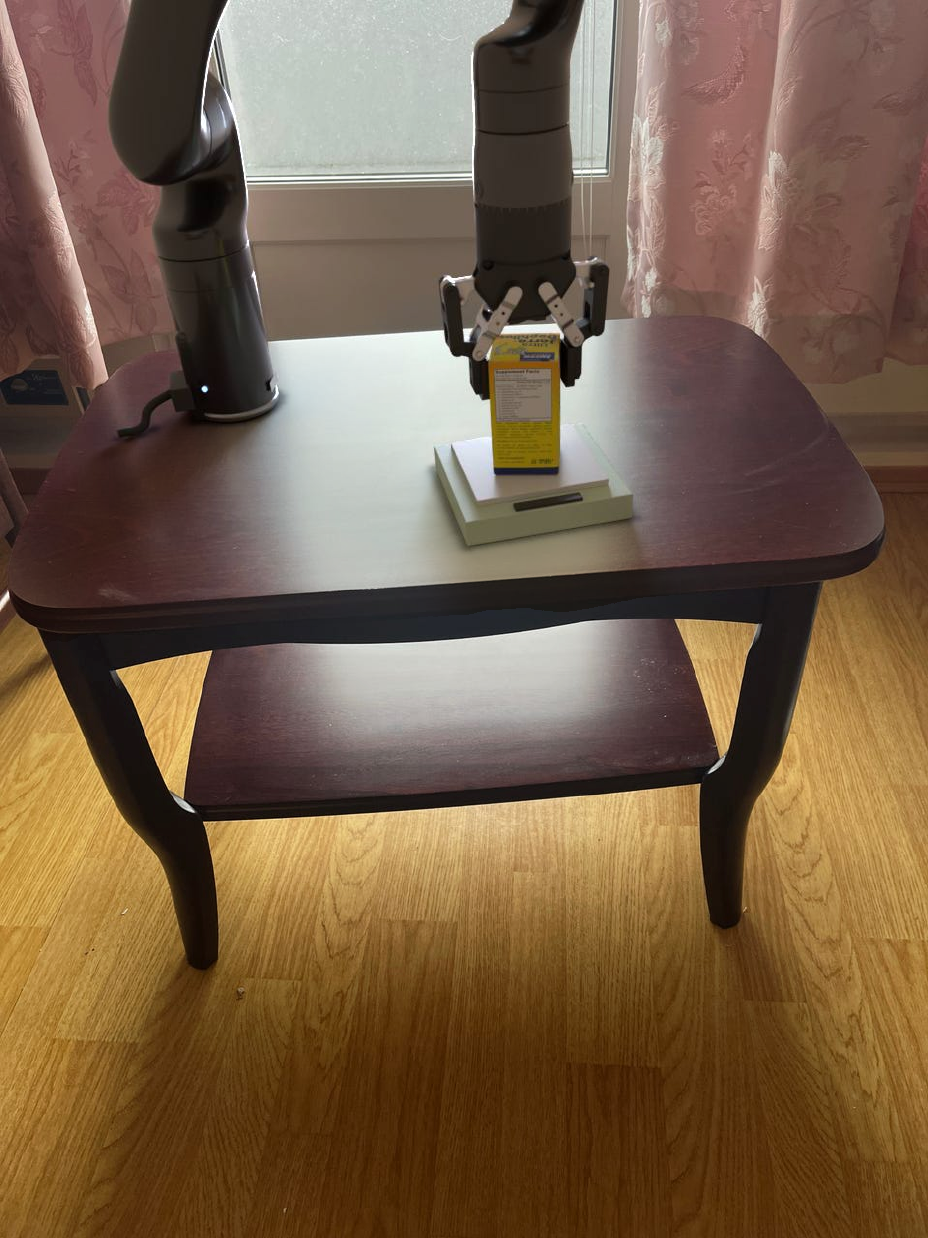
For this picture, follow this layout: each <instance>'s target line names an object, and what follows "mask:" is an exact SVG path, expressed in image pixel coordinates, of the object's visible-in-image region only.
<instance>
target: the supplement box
mask: <svg viewBox="0 0 928 1238" xmlns="http://www.w3.org/2000/svg"><path fill="white" fill-rule="evenodd" d="M560 339H561V333H560V332H540V333H539V332H529V333H528V332H527V333H526V332H525V333H524V332H523V333H521V332H520V333H501V334H500V336H499V337H498V338H497V339H495V340H494V342H493V344H492V346H491V348H490V354H489V357H488V359H489V363H488V367H489V389H490V399H489V409H490V410H489V411H490V431H491V436H492V452H493V468H494V474H558V473H559V458H560V425H561V378H560Z"/></svg>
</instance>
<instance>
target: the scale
mask: <svg viewBox="0 0 928 1238" xmlns="http://www.w3.org/2000/svg"><path fill="white" fill-rule="evenodd" d="M433 451H434V452H433V454H434V466H435V471H436V473H437V475H438V478H439V480H440V483H441V485H442V487H443V490H444V492H445V495H446V497H447V500H448V502H449V504H450V507H451V509H452V512H453V515H454V517H455V519H456V522H457V525H458V526H459V529H460V531H461V534H462V538H463V539H464V542H465V544H466V546H467V547H471V546H478V545H483V544H489V543H490V544H491V543H495V542H501V541H507V540H512V539H518V538H523V537H529V536H535V535H542V534H547V533H552V532H558V531H565V530H570V529H576V528H582V527H587V526H593V525H594V526H595V525H601V524H606V523H611V522H617V521H622V520H628V519H632V517H633V502H634V501H633V500H634V494H633V492H632V491H631V489H630V488H629V486H628V485H627V484H626V482H625V481H624V480H623V478H622V477H621V475H620V474H619V472H618V471H617V470H616V468H615V467H614V465H613V464H612V463H611V460H610V459H609V458H608V456H607V455H606V454H605V453H604V451H603V450H602V448H601V447H600V445H599V444H598V443H597V441H596V440H595V439H594V437H593V436H592V434H591V433H590V432H589V430H588V428H587V427H586V426H585V424H584V423H583V422H580V423H574V424H572V423H568V424H567V423H566V424H560V458H559V473H558V474H494V468H493V452H492V435H491V436H484V437H478V438H471V439H465V440H458V441H451V442H450V443H448V444H447V443H446V444H440V445H434V446H433Z"/></svg>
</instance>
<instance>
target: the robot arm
mask: <svg viewBox="0 0 928 1238" xmlns="http://www.w3.org/2000/svg"><path fill="white" fill-rule="evenodd" d="M230 1H231V0H130V3H129V9H128V15H127V20H126V23H125V28H124V32H123V37H122V40H121V45H120V48H119V49H120V50H119V54H118V58H117V61H116V66H115V69H114V74H113V79H112V83H111V87H110V91H109V97H108V102H107V103H108V104H107V113H106V114H107V128H108V129H107V130H108V135H109V139H110V142H111V145H112V148H113V151H114V152H115V154H116V156H117V158H118V160H119V161H120V163H121V164H122V165H123V167H124V169H125V170H127V172H128V173H129V174H130V175H132V177H134V178H135V179H136V180H138V181H140V182H141V183H144V184H145V185H150V186H154V187H160V196H159V200H158V201H159V202H158V205H157V208H156V212H155V213H154V216H153V218H152V221H151V223H150V224H151V225H150V234H151V238H152V239H151V240H152V243H153V247H154V252H155V255H156V258H157V259H156V260H157V263H158V267H159V272H160V275H161V278H162V282H163V286H164V290H165V294H166V298H167V302H168V306H169V310H170V314H171V319H172V322H173V326H174V341H175V346H176V349H177V352H178V357H179V361H180V365H181V368H182V370H175V371H170V372H169V373H170V374H169V388H168V389H167V390H165V391H163V392H162V393H160V394H158V395H156V396H155V397H153V398H152V399H151V400H149V401H148V402H147V403H146V404H145V406H144V407H143V409H142V413H141V419H140V422H139V423H138V424H137V425H133V426H127V427H120V428H116V434H117V436H118V438H119V439H121V438H126V437H134V436H138V435H141V434H143V433H144V432H145V431H147V430H148V429H149V427H150V425H151V418H152V413H153V412H154V411H155V409H157V408H158V407H159V406H160V405H162V404H164V403H167V401H170V400H171V402H172V405H173V408H174V412H175V413H181V412H187V411H192V412H193V417H194V420H195V422H199V421H200V422H201V421H210V422H215V423H216V422H217V423H234V422H240V421H246V420H249V419H253V418H256V417H259V416H261V415H263V414H265V413H267V412H269V411H271V410H272V409H273V408H274V407H275V406H276V405H277V404H278V403H279V400H280V395H279V390H278V387H277V384H278V382H279V379H278V374H277V371H275V372H274V368H273V361H272V357H271V352H270V347H269V342H268V341H269V340H268V336H267V331H266V327H265V325H266V324H265V319H264V316H263V310H262V306H261V300H260V295H259V290H258V285H257V279H256V274H255V269H254V264H253V263H254V262H253V258H252V254H251V253H252V252H251V249H250V248H251V247H250V242H249V238H248V237H249V236H248V232H247V219H248V212H249V195H248V187H247V180H246V173H245V165H244V160H243V154H242V153H243V152H242V146H241V145H242V144H241V140H240V133H239V128H238V123H237V119H236V114H235V111H234V108H233V105H232V102H231V99H230V97H229V95H228V93H227V91H226V89H225V87H224V85H223V84H222V83H221V81H220V80H219V79H218V78H217V77H216V75H215V74H214V73H213V72H212V71H210V70H209V63H210V58H211V53H212V48H213V45H214V41H215V39H216V38H215V37H216V34H217V31H218V29H219V26H220V23H221V21H222V19H223V16H224V14H225V12H226V10H227V7H228V5H229V4H230ZM584 3H585V0H512V4H511V7H510V10H509V15H507V17H506V19H505V20H504V21H503V22H502V23H500V25H498V26H496V27H495V28H493V29H491V30H490V31H488V32H487V33H484V34H483V35H482V36H481V37H480V38H479V39H477V41H476V42H475V44H474V46H473V49H472V53H471V54H472V55H471V84H472V87H471V90H472V112H473V113H472V114H473V143H472V145H473V146H472V155H471V156H472V158H471V159H472V161H471V162H472V165H471V166H472V168H471V169H472V189H473V190H472V191H473V211H474V231H475V253H476V254H475V255H476V261H475V267H474V269H473V271H472V274H471V275H468V276H463V277H457V278H452V277H451V275H443V276H441V277H440V278H439V279H438V283H437V285H438V292H439V293H438V294H439V301H440V311H441V318H442V326H443V327H442V328H443V336H444V343H445V344H446V346H447V347H448V349H449V351H450V354H451V355H452V356H453V357H455V358H460V357H466V358H468V373H469V374H468V375H469V384H470V386H471V388H472V390H473V392H474V394H475V395H476V396H479V397H480V399H481V401H490V389H489V367H488V363H489V357H488V356H487V355H488V354H489V352H490V350H491V349H492V344H493V342H494V340H495V339H497V338H498V337H499V336H500V334H502V332H503V330H504V328H505V326H506V324H508V325H509V326H513V325H519V324H523V323H524V322H526V321H533V322H541V321H547V317H549V316H551V318H552V319H553V321H554V322H555V324H556V326H557V327H558V328H559V330H560V331H561V333H562V334H563V338H560V382H562V384H563V386H564V387H565V388H571V387H573V388H574V387H575V386H576V380H580V378H581V377H582V372H583V371H582V367H583V366H582V365H583V364H582V362H583V345H584V343H585V342H586V341H587V340H588V339H590V338H592V337H600V336H602V335H604V332H605V329H606V321H607V320H606V319H607V318H606V317H607V306H608V297H609V295H608V294H609V283H610V272H611V271H610V268H609V266H608V265H607V264H606V263H605V262H604V261H603V260H602V259H601V258H600V257H599V256H597V255H594V254H593V255H590V256H588V258H587V259H586V260H583V261H581V260H580V261H574V260H573V258H572V252H571V251H572V211H573V210H572V209H573V185H574V182H575V181H574V180H575V174H574V169H573V147H572V137H571V123H570V119H571V117H570V116H571V115H570V114H571V111H570V110H571V109H570V108H571V58H572V53H573V48H574V45H575V42H576V38H577V35H578V30H579V27H580V22H581V17H582V12H583V9H584ZM576 278H577V279H578V283H579V285H580V286H581V287H582V288H583V301H582V302H583V303H582V315H581V316H582V317H581V318H580V319H578V320H576V321H575V319H574V317H573V316H572V315H571V313H570V312H569V310H568V308H567V306H566V304H564V301H563V298H564V297H565V295H566V294H567V292H568V291H569V289H570V287H571V286H572V284H573V282H574V281H575V279H576ZM473 292H476V294H477V295H478V296H479V297H480V298H481V300H483V303H482V305H481V306H480V309H479V311H478V313H477V315H476V318H475V323H474V325H473V328H472V329H471V331H470V333H469V335H468V336H465V334H464V327H463V326H464V324H463V315H462V308H464V307H465V306H467V304H468V302H469V297H470V294H472V293H473Z"/></svg>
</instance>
